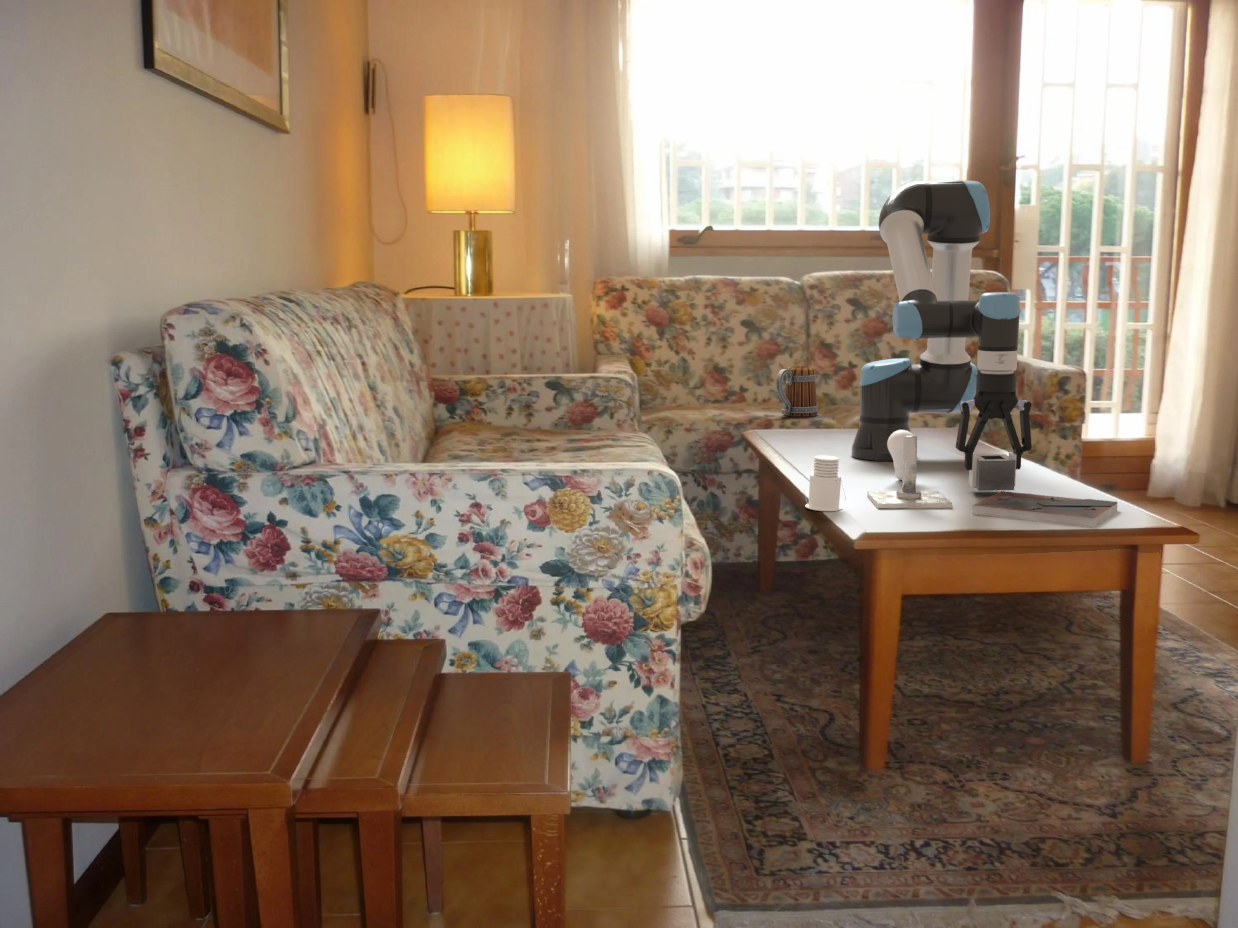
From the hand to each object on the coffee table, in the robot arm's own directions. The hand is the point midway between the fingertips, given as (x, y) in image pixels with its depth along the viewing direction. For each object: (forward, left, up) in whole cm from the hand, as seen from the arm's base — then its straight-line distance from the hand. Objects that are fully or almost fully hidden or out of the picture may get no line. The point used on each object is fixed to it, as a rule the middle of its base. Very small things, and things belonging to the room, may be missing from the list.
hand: (991, 485), depth 233 cm
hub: (0, 0, 0) cm, 0 cm away
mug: (-126, -26, -2) cm, 129 cm away
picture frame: (+18, +5, -3) cm, 19 cm away
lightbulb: (-15, -15, -2) cm, 22 cm away
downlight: (+13, -35, -2) cm, 37 cm away
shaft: (+8, -18, -2) cm, 20 cm away
